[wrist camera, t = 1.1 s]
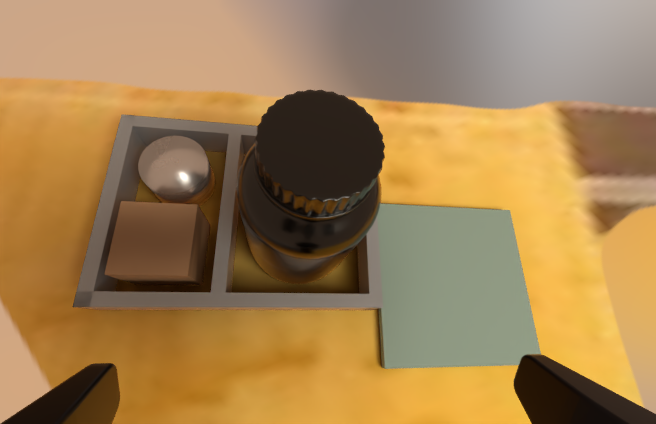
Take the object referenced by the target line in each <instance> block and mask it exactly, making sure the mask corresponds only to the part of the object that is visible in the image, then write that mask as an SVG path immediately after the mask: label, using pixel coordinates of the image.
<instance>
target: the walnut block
mask: <svg viewBox="0 0 656 424" xmlns="http://www.w3.org/2000/svg"><path fill="white" fill-rule="evenodd" d="M209 231H210V224H209V223H208V221H207V219H206V218H205V216H204V214H203V213H202V211H201V209H200V208H199V206H198V205H194V204H174V203H153V202H132V201H121V204H120V208H119V213H118V217H117V221H116V226H115V230H114V234H113V239H112V243H111V247H110V252H109V256H108V261H107V265H106V269H105V275H108V276H111V277H114V278H117V279H120V280H123V281H126V282H129V283H132V284H135V285H203V280H204V271H205V263H206V255H207V247H208V239H209Z"/></svg>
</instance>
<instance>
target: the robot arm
mask: <svg viewBox="0 0 656 424" xmlns="http://www.w3.org/2000/svg"><path fill="white" fill-rule="evenodd" d="M514 389H515V392H516V394H517V396H518V398H519V400H520V402H521V404H522V406H523V408H524V410H525V411H526V413H527V415H528V417H529V419H530V421H531V423H532V424H656V414H654V413H652V412H651V411H649V410H647V409H645V408H643V407H641V406H639V405H637V404H635V403H634V402H632V401H630V400H628V399H626V398H624V397H622V396H620V395H618V394H616V393H615V392H613V391H611V390H609V389H607V388H605V387H603V386H601V385H599V384H597V383H596V382H594V381H592V380H590V379H588V378H586V377H584V376H582V375H580V374H578V373H577V372H575V371H573V370H571V369H569V368H567V367H565V366H563V365H561V364H559V363H558V362H556V361H554V360H552V359H550V358H548V357H546V356H544V355H541V354H526V355H524V356H523V357H522V358H521V360H520V363H519V366H518V369H517V372H516V375H515V378H514ZM119 401H120V391H119V383H118V375H117V369H116V366H115V365H114V364H112V363H101V364H91V365H89V366H87V367H85V368H84V369H82V370H81V371H79V372H78V373H76V374H75V375H73V376H72V377H70V378H69V379H67V380H66V381H64V382H63V383H61V384H60V385H58V386H57V387H55V388H54V389H52V390H51V391H49V392H48V393H46V394H45V395H43V396H42V397H40V398H39V399H37V400H36V401H34V402H33V403H31V404H30V405H28V406H27V407H25V408H23V409H22V410H20V411H19V412H17V413H16V414H15V415H13V416H11V417H10V418H8V419H7V420H5V421H4V422H2V423H1V424H112V422H113V420H114V417H115V414H116V412H117V409H118V406H119Z"/></svg>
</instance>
